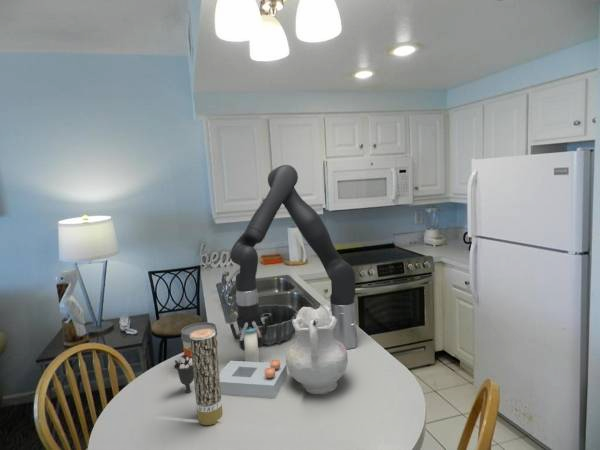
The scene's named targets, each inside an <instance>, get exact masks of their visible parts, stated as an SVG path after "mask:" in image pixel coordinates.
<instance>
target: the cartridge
mask: <svg viewBox="0 0 600 450" xmlns="http://www.w3.org/2000/svg"><path fill="white" fill-rule="evenodd" d="M242 330H243V329H242ZM256 331H257V328H251V327H249V329H246V330H244V333H245V335H244V338H243V340H244V348H245V350H244V351H243V353H244V361H245V362H260V355H259V353H260V352H259V351H260V350H259V348H258V338H257V333H256Z"/></svg>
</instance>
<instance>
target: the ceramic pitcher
mask: <svg viewBox="0 0 600 450" xmlns="http://www.w3.org/2000/svg"><path fill="white" fill-rule="evenodd" d="M336 322H337V319H336V318H335V317H334V316H333V315H332V311H331V307H330V306H328V305H327V304H319V307H318V308H316V309H314V308H312V307H310V306H302V307H301V308H300V309H299V311H298V314H297V316H296V319H293V320H292V324H293V326H294V328H295V332H296V335H297V336H296V337H297V338H296V341H295V342H293V344H292V345H290V346H289V348H288V350H287V352H286V355H285V362H286V363H285V364H287V371H288V372H289V373H290V375H291V377H292V378H293V379H294V380H295V381H296V382H298V383H300V384H302V386H303V387H304V388H305V389H304V391H305V392H306V393H308V394H311V395H327V394H329V393H331V392H333V391H334V390H336V389H337V388H338V382H337V381H339V380H340V379H341V377H343V375H344V373H345V372H346V370H347V367H348V363H349V359H348V358H349V357H348V350H347V349H346V348H345V347H344V345H343V344H342V343H341V342H339V341H337V340H336V339H335V338H334V337H333V330H334V327H335V325H336Z"/></svg>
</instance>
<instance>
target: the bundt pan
mask: <svg viewBox="0 0 600 450" xmlns="http://www.w3.org/2000/svg"><path fill="white" fill-rule="evenodd" d="M298 312H299V311H298V310H297V309H295V307H291V306H290V305H284V304H281V305H280V304H277V303H274V304H263V305H259V315H260V317H267V318H268V320H269V321H268V328H267V334H266V335H263V336H262V346H263V345H269V346H270V345H273V344H274V343H277V344H280V343H281V342H282V341H286V340H287V339H289V338H290V337H292V336H293V335H294V334H295V332H296V330H295V328H294V326H293V324H292V320H293V319H296V316H297V314H298ZM236 314H237V315H236V316H235V317H234V320H235V321H237V319H238V313H236ZM235 321H234V322H235ZM257 327H258V329H259V331H260V332H261V331H262V328H263V323H262V321H260V323H259V324H258V326H257ZM237 328H238V331H239V333H240V330H241V327H240V326H239V325H238V324H237Z"/></svg>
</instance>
